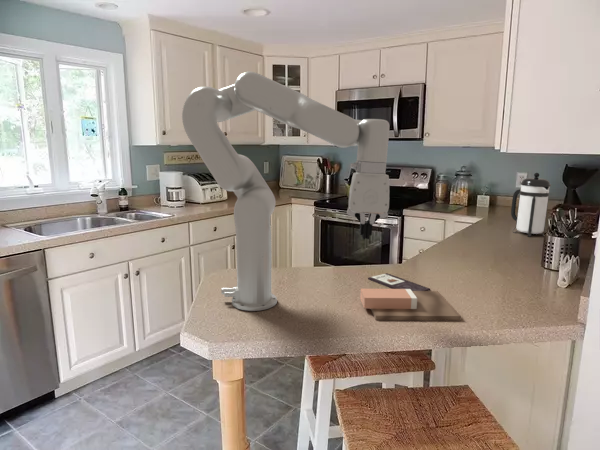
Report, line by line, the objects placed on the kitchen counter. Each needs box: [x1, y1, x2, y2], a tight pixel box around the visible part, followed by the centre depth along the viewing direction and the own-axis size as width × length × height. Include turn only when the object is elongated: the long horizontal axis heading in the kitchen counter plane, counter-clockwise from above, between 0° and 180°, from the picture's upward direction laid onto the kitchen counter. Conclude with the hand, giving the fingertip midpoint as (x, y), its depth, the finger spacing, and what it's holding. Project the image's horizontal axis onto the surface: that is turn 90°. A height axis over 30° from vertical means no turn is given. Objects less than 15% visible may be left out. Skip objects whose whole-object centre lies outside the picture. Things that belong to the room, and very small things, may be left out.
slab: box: [360, 288, 417, 310], centre depth 117 cm, size 3×7×14 cm
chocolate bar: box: [367, 272, 431, 291], centre depth 136 cm, size 9×1×18 cm
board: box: [370, 290, 462, 321], centre depth 119 cm, size 22×18×1 cm
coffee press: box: [510, 172, 552, 238], centre depth 208 cm, size 17×16×30 cm
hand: (365, 237), depth 114 cm, fingers closed
